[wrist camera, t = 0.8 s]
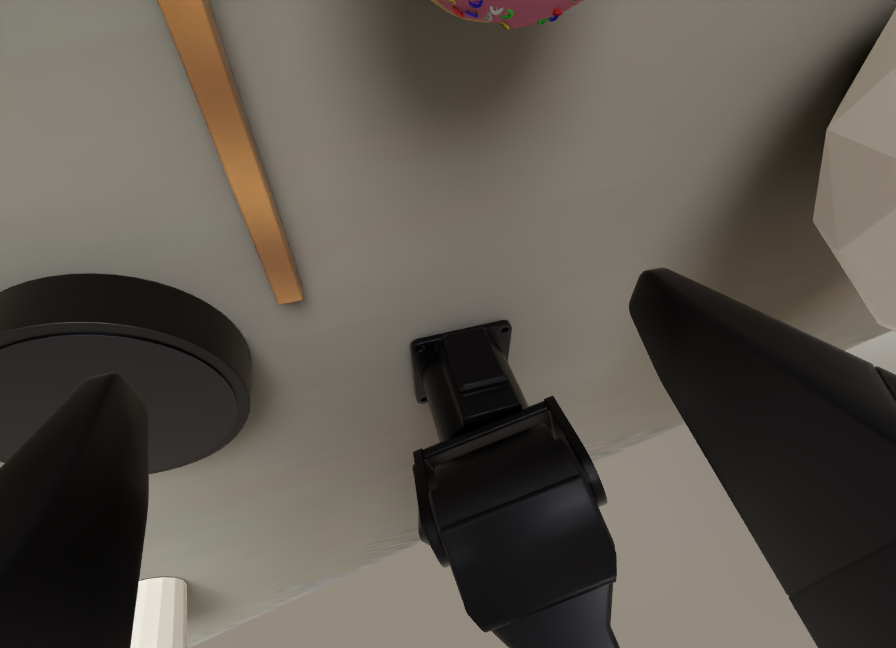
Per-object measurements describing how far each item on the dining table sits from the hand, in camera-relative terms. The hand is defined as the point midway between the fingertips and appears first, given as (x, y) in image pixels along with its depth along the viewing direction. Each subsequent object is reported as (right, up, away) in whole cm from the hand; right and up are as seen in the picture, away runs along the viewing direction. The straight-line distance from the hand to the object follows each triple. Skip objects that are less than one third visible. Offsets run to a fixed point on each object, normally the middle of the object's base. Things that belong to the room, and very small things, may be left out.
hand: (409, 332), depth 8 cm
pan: (-20, -3, +15) cm, 25 cm away
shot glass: (-27, -25, +36) cm, 51 cm away
